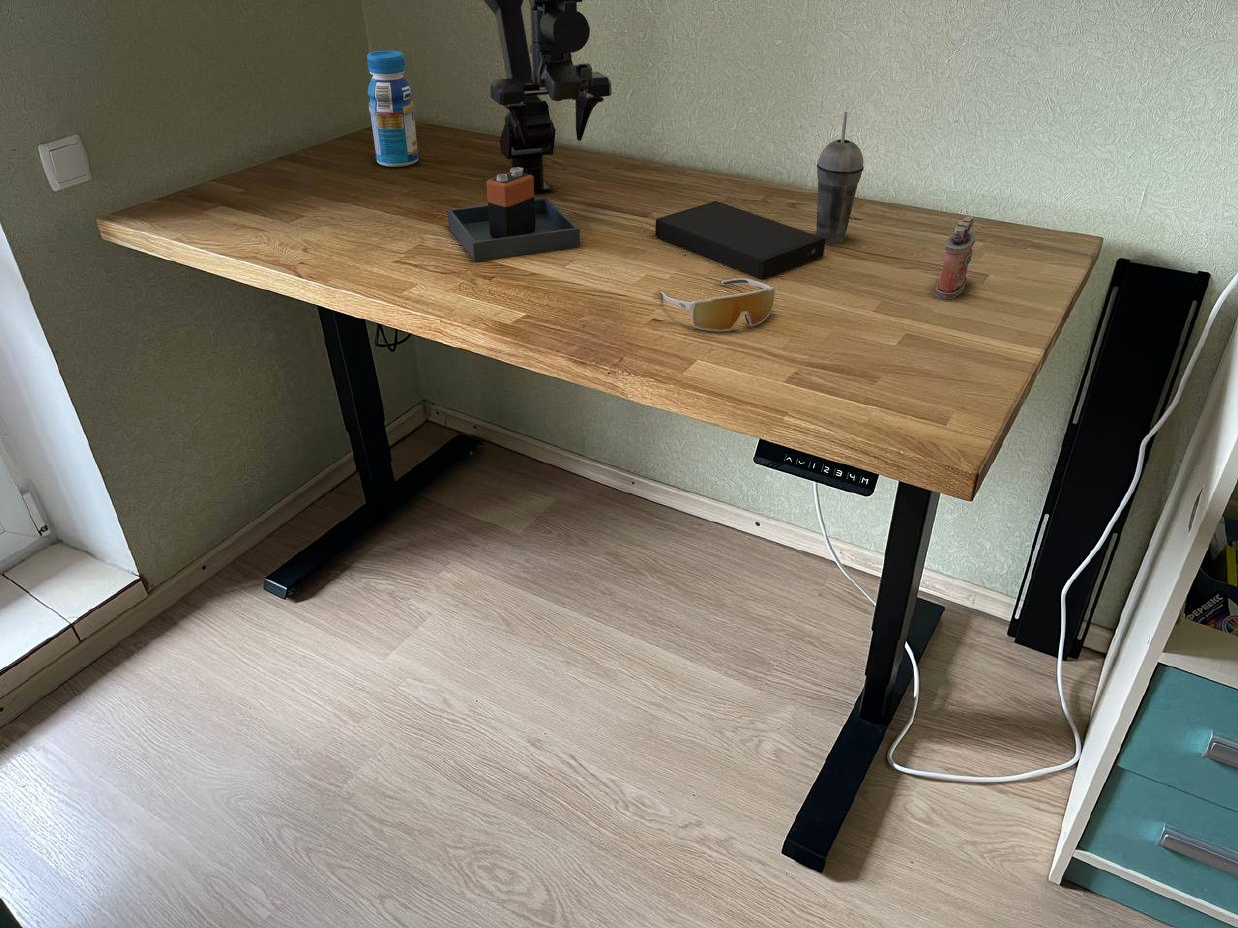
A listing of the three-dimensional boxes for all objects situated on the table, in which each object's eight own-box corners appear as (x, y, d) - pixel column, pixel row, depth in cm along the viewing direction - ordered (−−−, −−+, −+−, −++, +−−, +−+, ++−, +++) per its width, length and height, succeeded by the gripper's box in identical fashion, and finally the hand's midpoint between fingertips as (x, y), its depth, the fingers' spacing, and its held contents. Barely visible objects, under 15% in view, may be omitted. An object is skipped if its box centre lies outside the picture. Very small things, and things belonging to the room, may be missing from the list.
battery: (537, 230, 155) (534, 169, 150) (509, 242, 151) (505, 179, 145) (517, 225, 158) (513, 164, 152) (488, 236, 153) (484, 174, 147)
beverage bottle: (368, 161, 189) (353, 53, 178) (404, 153, 193) (392, 47, 182) (390, 171, 184) (377, 60, 172) (428, 162, 188) (417, 54, 177)
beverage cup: (857, 234, 157) (877, 108, 146) (847, 249, 151) (866, 118, 140) (814, 227, 159) (830, 102, 148) (802, 241, 154) (817, 113, 143)
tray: (448, 227, 158) (447, 209, 156) (547, 214, 163) (546, 197, 162) (474, 261, 145) (472, 243, 144) (580, 247, 151) (579, 228, 149)
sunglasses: (697, 340, 123) (696, 302, 121) (647, 310, 136) (646, 276, 134) (790, 322, 128) (791, 285, 126) (734, 295, 141) (735, 261, 138)
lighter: (954, 300, 135) (969, 232, 129) (930, 295, 136) (944, 227, 131) (969, 282, 140) (985, 215, 135) (947, 277, 142) (960, 211, 136)
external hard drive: (716, 217, 163) (717, 200, 161) (823, 256, 148) (826, 238, 147) (655, 236, 155) (655, 219, 153) (762, 280, 140) (764, 260, 139)
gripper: (507, 54, 139) (512, 162, 148) (625, 46, 145) (624, 150, 154) (486, 41, 148) (493, 143, 157) (598, 34, 154) (598, 133, 162)
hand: (552, 143), depth 157 cm, fingers open, 9 cm apart
